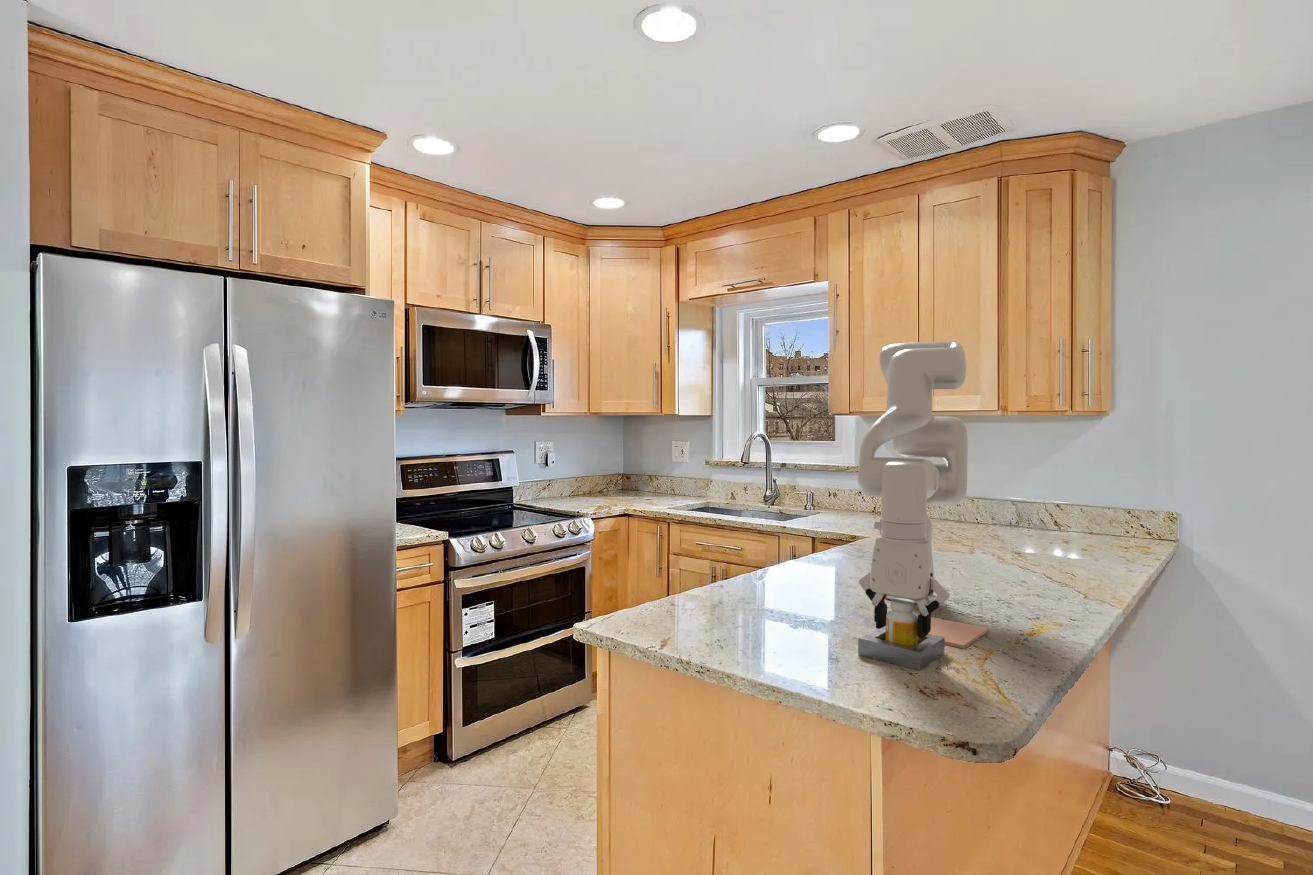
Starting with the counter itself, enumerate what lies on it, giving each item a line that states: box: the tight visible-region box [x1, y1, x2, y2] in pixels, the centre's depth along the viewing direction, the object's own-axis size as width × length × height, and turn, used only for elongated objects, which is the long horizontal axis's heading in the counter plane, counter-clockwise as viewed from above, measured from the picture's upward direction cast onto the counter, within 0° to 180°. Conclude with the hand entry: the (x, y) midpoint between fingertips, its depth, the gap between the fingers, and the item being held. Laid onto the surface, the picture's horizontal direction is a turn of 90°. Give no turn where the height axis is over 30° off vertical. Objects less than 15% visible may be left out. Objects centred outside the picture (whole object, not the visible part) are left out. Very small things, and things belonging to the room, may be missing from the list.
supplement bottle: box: [886, 598, 918, 647], centre depth 122 cm, size 5×5×10 cm
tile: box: [916, 614, 989, 649], centre depth 135 cm, size 14×14×1 cm
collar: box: [857, 626, 946, 671], centre depth 122 cm, size 11×11×3 cm
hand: (901, 630), depth 122 cm, fingers open, 6 cm apart
